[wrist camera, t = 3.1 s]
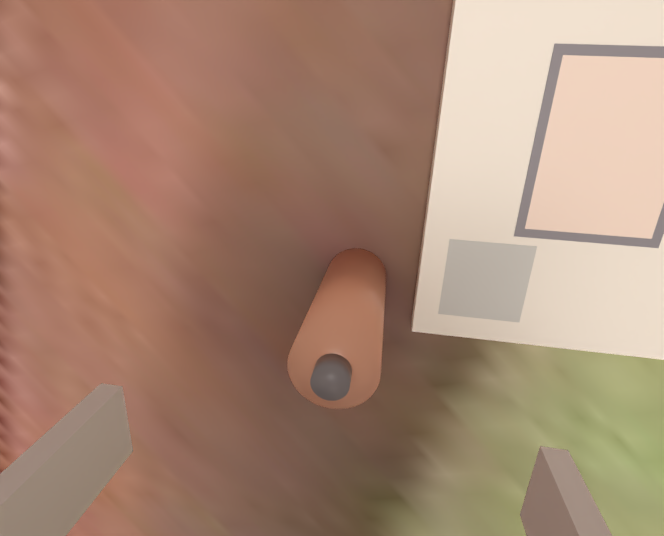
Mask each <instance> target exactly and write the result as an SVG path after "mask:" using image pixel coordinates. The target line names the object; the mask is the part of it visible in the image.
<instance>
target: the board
mask: <svg viewBox="0 0 664 536" xmlns="http://www.w3.org/2000/svg"><path fill="white" fill-rule="evenodd" d="M411 327H412V332H421V333H430V334H439V335H448V336H457V337H466V338H475V339H484V340H493V341H502V342H510V343H519V344H528V345H537V346H546V347H555V348H564V349H573V350H582V351H591V352H600V353H608V354H617V355H626V356H635V357H644V358H653V359H662V360H664V0H453V6H452V14H451V22H450V29H449V37H448V45H447V52H446V60H445V68H444V75H443V83H442V91H441V98H440V106H439V114H438V121H437V129H436V137H435V144H434V152H433V160H432V167H431V175H430V183H429V190H428V198H427V206H426V213H425V221H424V229H423V236H422V244H421V252H420V259H419V267H418V275H417V282H416V290H415V298H414V305H413V313H412V321H411Z"/></svg>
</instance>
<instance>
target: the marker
mask: <svg viewBox="0 0 664 536" xmlns="http://www.w3.org/2000/svg"><path fill="white" fill-rule="evenodd" d="M385 292H386V271H385V268H384V265H383V264H382V262H381V261H380V259H379V258H378V257H377V256H376V255H374V254H373V253H371V252H369V251H367V250H363V249H348V250H345V251H343V252H341V253H339V254H338V255H336V256H335V257H334V258H333V260H332V261H331V263H330V265H329V267H328V269H327V271H326V273H325V276H324V278H323V280H322V282H321V284H320V287H319V289H318V291H317V293H316V295H315V298H314V300H313V302H312V304H311V306H310V309H309V311H308V313H307V315H306V317H305V319H304V322H303V324H302V326H301V328H300V330H299V333H298V335H297V337H296V339H295V341H294V344H293V346H292V348H291V350H290V353H289V356H288V362H287V367H288V373H289V377H290V379H291V381H292V383H293V385H294V386H295V388H296V389H297V390H298V392H299V393H300V394H301V395H303V396H304V397H305V398H306V399H308V400H309V401H311V402H313V403H315V404H317V405H319V406H323V407H326V408H332V409H345V408H351V407H354V406H357V405H359V404H361V403H363V402H365V401H366V400H367V399H369V398H370V397H371V396H372V395H373V393H374V392H375V391H376V389H377V387H378V385H379V382H380V377H381V362H382V345H383V327H384V310H385Z"/></svg>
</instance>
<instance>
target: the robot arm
mask: <svg viewBox="0 0 664 536" xmlns="http://www.w3.org/2000/svg"><path fill="white" fill-rule="evenodd" d="M132 452H133V448H132V442H131V436H130V430H129V424H128V418H127V412H126V406H125V399H124V393H123V387H122V386H116V385H109V384H102V383H101V384H100V385H99V386H98V387H96V388H95V389H94V390H93V391H92V392H91V393H90V394H89V395H87V396H86V397H85V398H84V399H83V400H82V401H81V402H80V403H79V404H77V405H76V406H75V407H74V408H73V409H72V410H71V411H70V412H69V413H67V414H66V415H65V416H64V417H63V418H62V419H61V420H60V421H59V422H57V423H56V424H55V425H54V426H53V427H52V428H51V429H50V430H49V431H47V432H46V433H45V434H44V435H43V436H42V437H41V438H40V439H39V440H37V441H36V442H35V443H34V444H33V445H32V446H31V447H30V448H29V449H27V450H26V451H25V452H24V453H23V454H22V455H21V456H20V457H19V458H17V459H16V460H15V461H14V462H13V463H12V464H11V465H10V466H9V467H7V468H6V469H5V470H4V471H3V472H2V473H1V474H0V536H66V535H67V534H68V532H69V531H70V530H71V529H72V527H73V526H74V525H75V524H76V522H77V521H78V520H79V519H80V517H81V516H82V515H83V513H84V512H85V511H86V510H87V508H88V507H89V506H90V505H91V503H92V502H93V501H94V500H95V498H96V497H97V496H98V495H99V493H100V492H101V491H102V489H103V488H104V487H105V486H106V484H107V483H108V482H109V481H110V479H111V478H112V477H113V476H114V474H115V473H116V472H117V471H118V469H119V468H120V467H121V465H122V464H123V463H124V462H125V460H126V459H127V458H128V457H129V455H130V454H131V453H132ZM520 516H521V519H522V522H523V526H524V529H525V532H526V535H527V536H612V535H611V533H610V531H609V529H608V527H607V525H606V523H605V521H604V519H603V517H602V515H601V513H600V511H599V509H598V507H597V505H596V504H595V502H594V500H593V498H592V496H591V494H590V492H589V490H588V488H587V486H586V484H585V482H584V480H583V478H582V476H581V474H580V472H579V470H578V469H577V467H576V465H575V463H574V461H573V459H572V457H571V455H570V453H569V451H568V450H563V449H556V448H549V447H542V446H540V448H539V452H538V455H537V459H536V462H535V465H534V469H533V472H532V475H531V479H530V482H529V486H528V489H527V492H526V496H525V499H524V503H523V506H522V509H521V513H520Z"/></svg>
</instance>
